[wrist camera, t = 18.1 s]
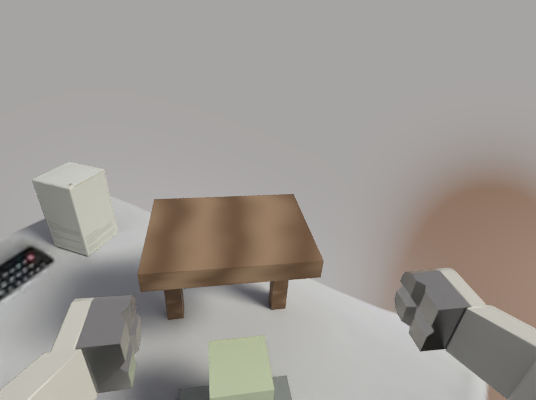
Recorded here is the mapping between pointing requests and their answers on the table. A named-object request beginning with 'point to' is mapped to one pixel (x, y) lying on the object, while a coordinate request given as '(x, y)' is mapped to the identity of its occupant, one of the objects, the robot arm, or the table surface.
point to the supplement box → (77, 207)
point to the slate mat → (200, 396)
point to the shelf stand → (226, 246)
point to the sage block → (240, 369)
